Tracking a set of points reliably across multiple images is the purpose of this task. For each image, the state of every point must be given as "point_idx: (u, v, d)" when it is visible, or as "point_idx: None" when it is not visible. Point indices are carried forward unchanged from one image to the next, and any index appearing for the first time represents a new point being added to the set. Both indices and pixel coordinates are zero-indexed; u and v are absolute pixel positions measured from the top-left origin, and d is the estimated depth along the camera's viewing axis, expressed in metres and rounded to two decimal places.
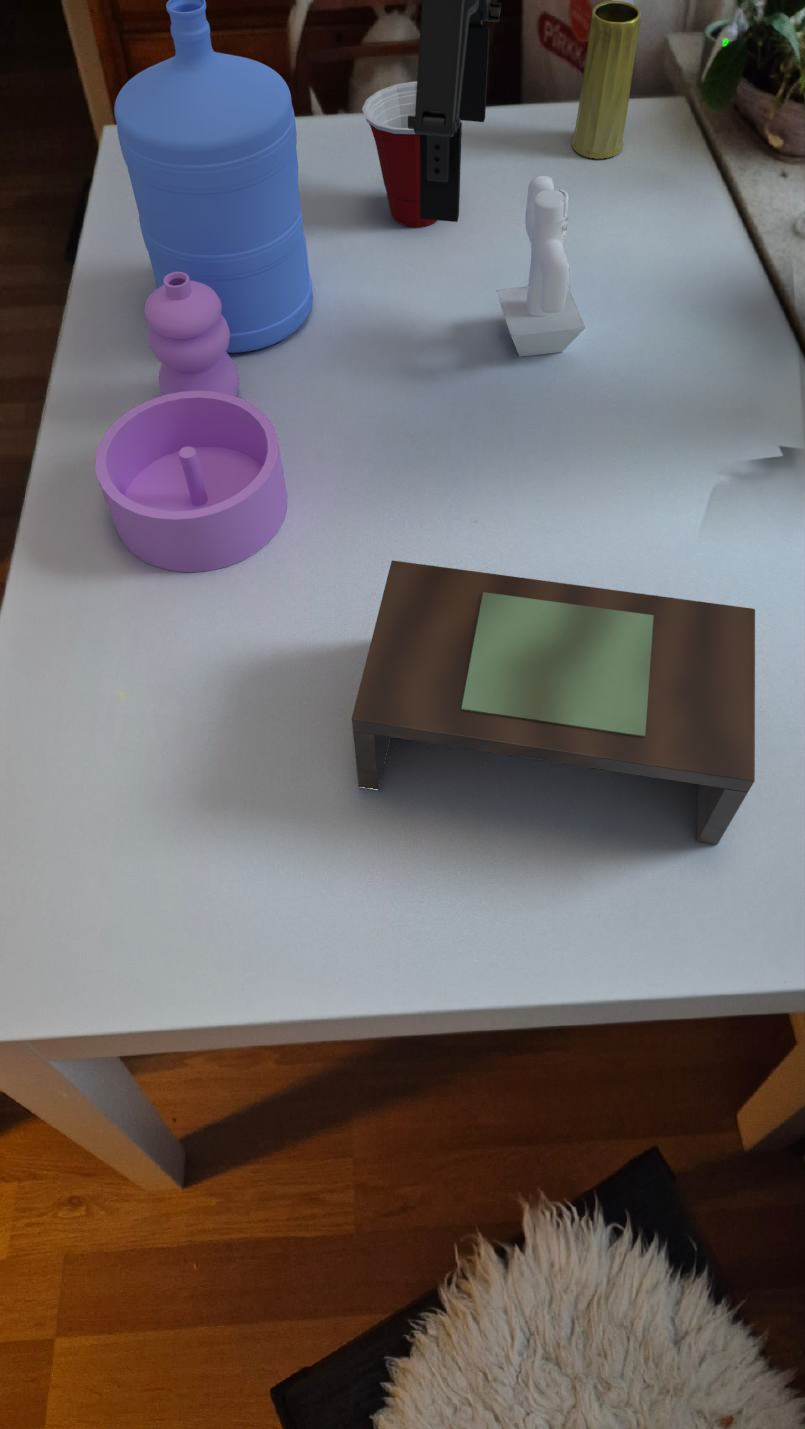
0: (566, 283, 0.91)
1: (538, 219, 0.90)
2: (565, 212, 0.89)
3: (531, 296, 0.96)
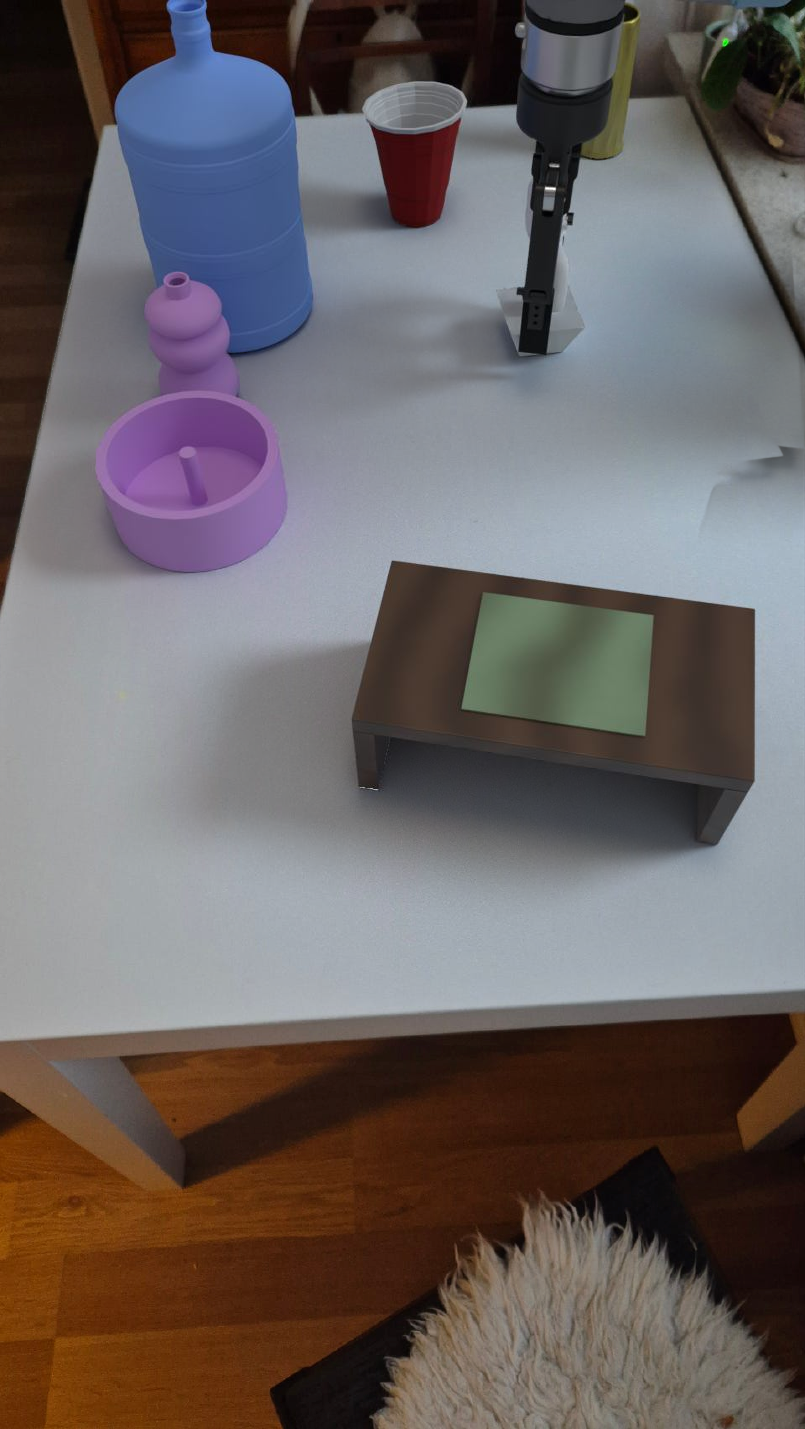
0: (566, 282, 0.91)
1: None
2: None
3: None
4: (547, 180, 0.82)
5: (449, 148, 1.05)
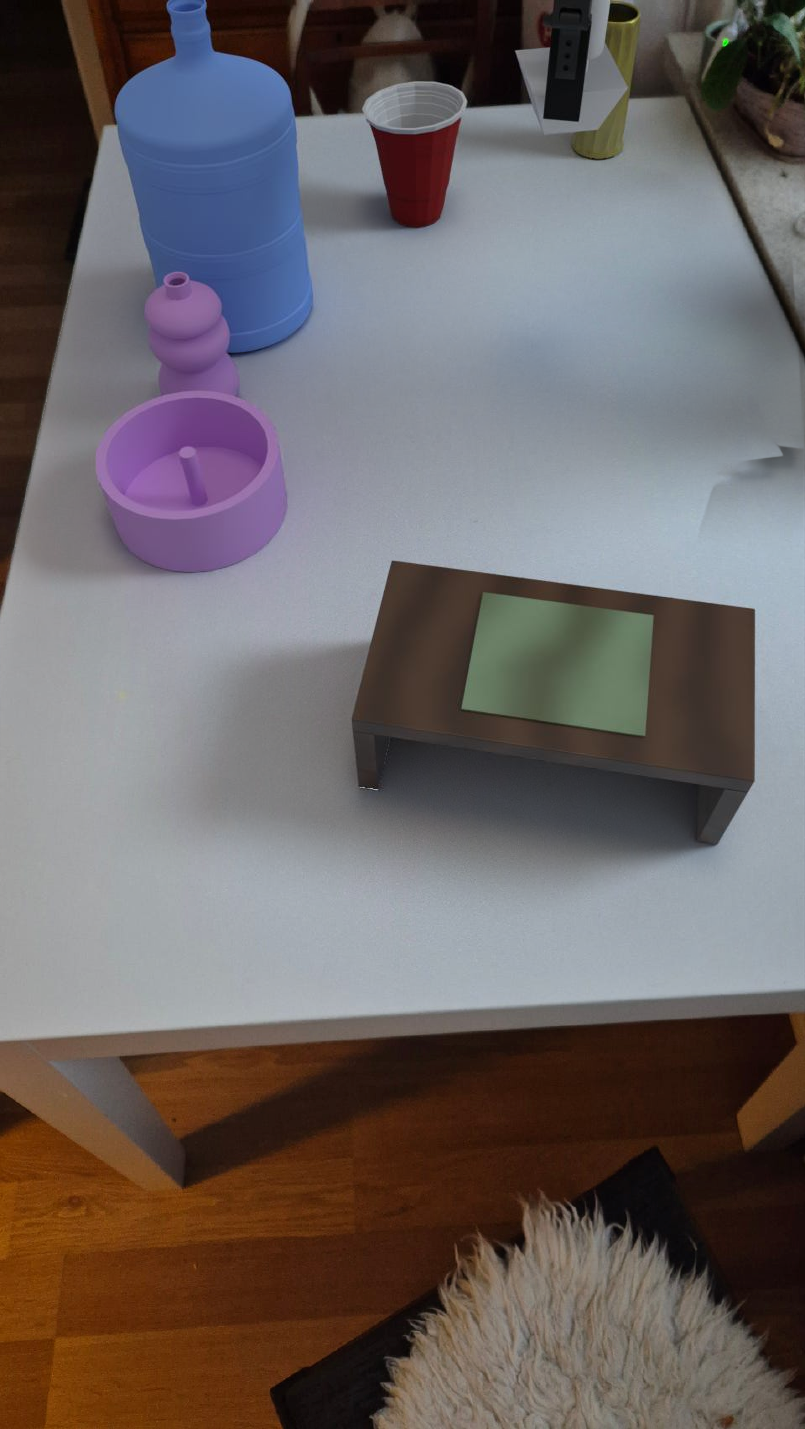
0: (606, 11, 0.71)
1: None
2: None
3: None
4: None
5: (449, 148, 1.05)
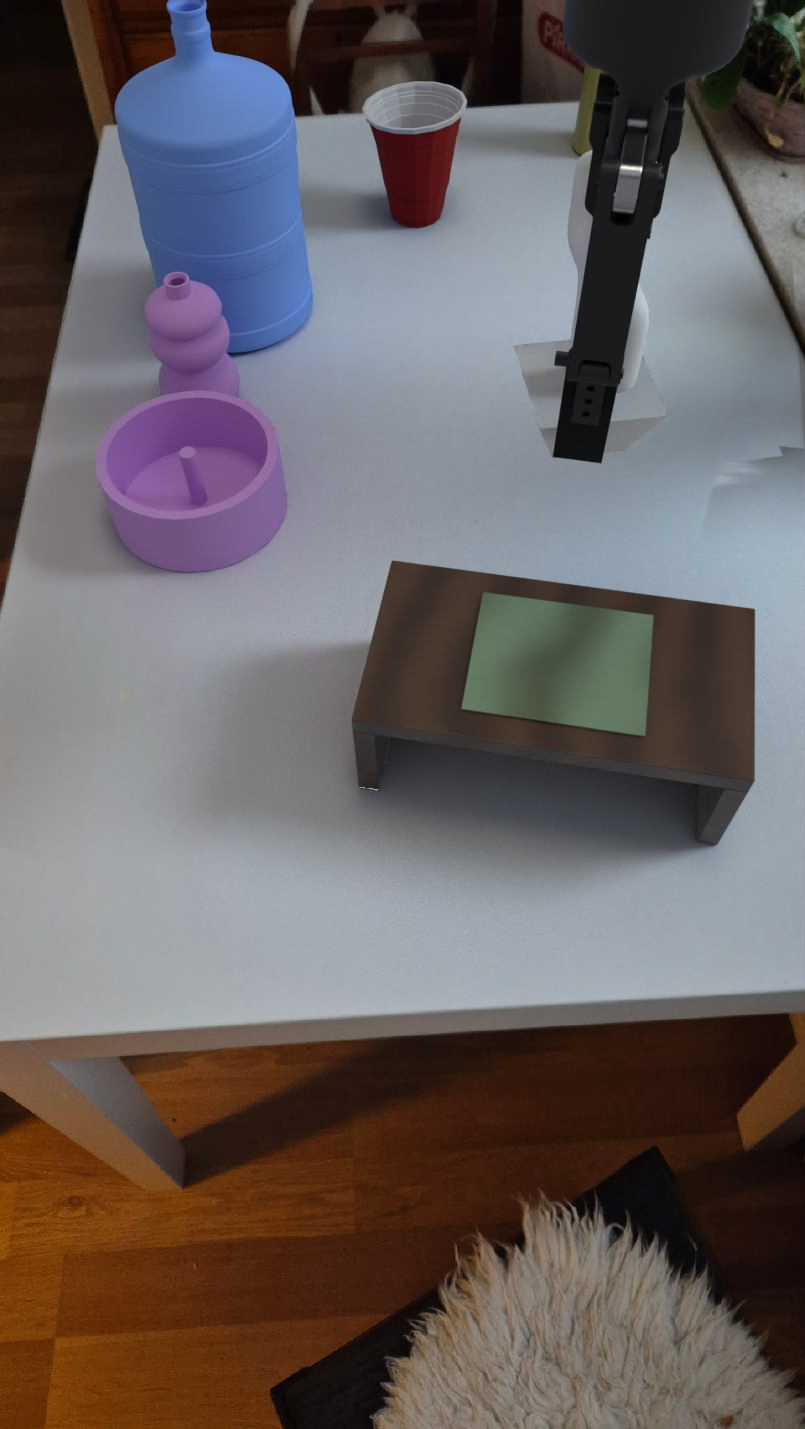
0: (642, 342, 0.50)
1: None
2: None
3: None
4: (624, 152, 0.41)
5: (449, 147, 1.05)
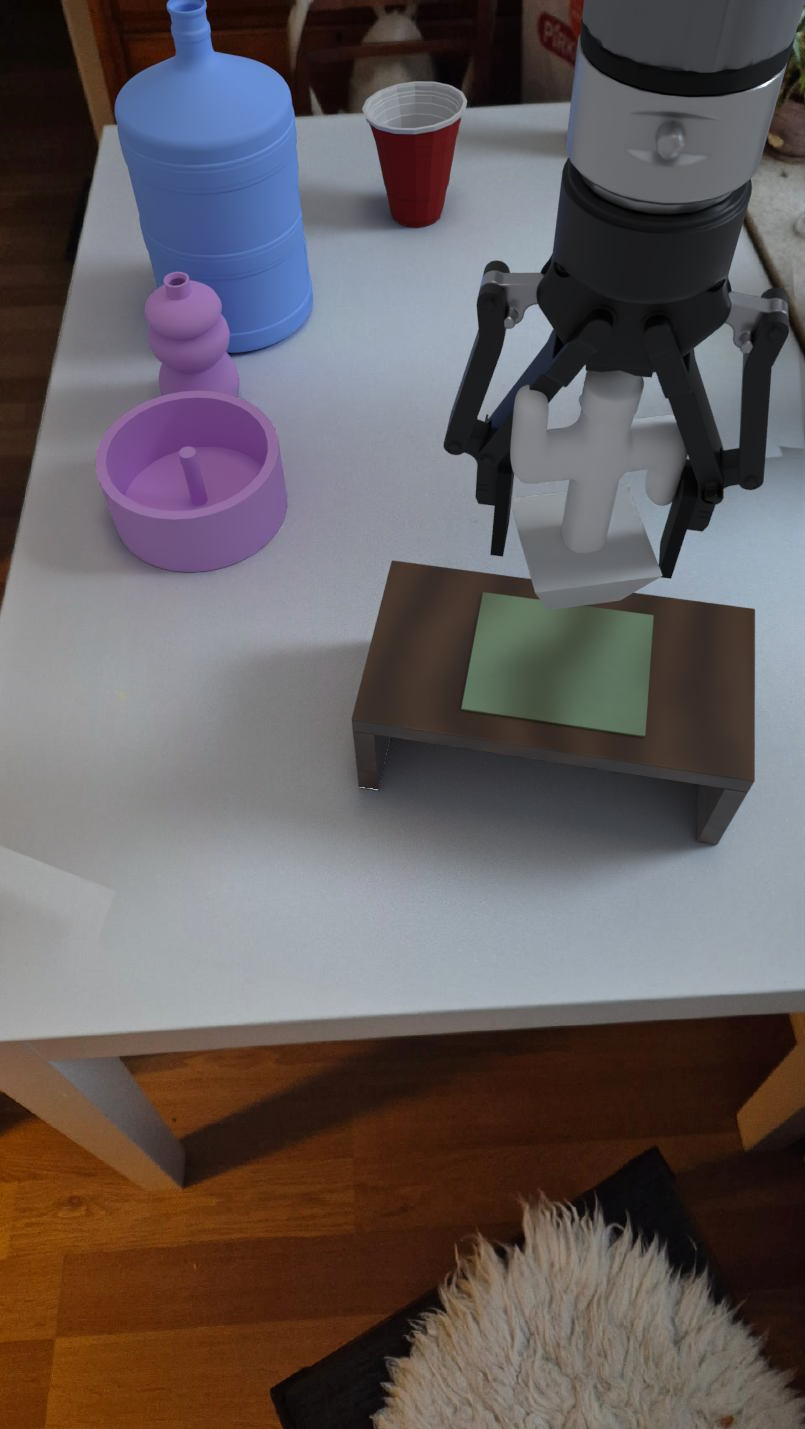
0: None
1: (629, 416, 0.49)
2: None
3: (606, 524, 0.55)
4: (759, 308, 0.44)
5: (449, 147, 1.05)
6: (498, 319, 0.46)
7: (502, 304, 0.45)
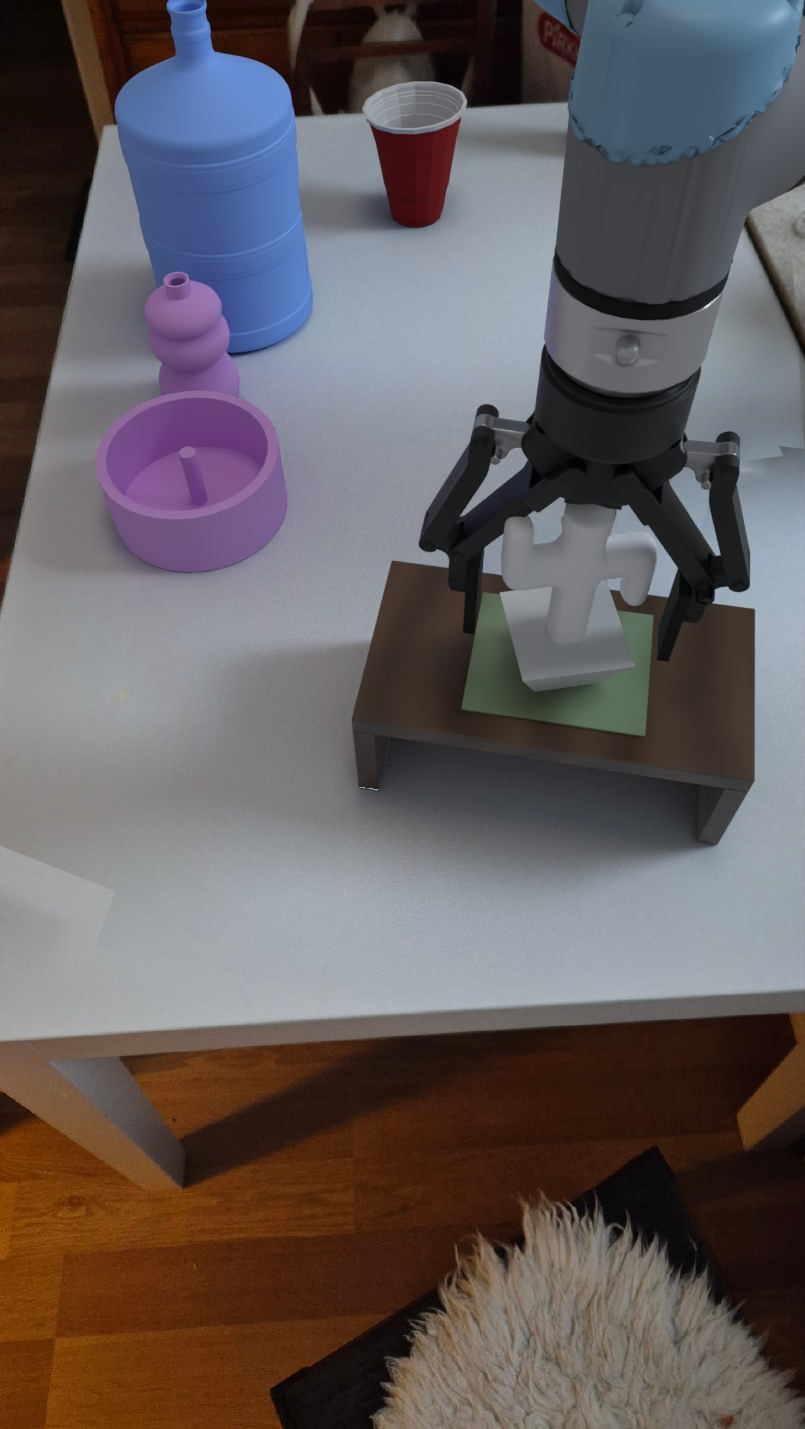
0: None
1: (604, 539, 0.56)
2: None
3: (586, 621, 0.63)
4: (712, 453, 0.51)
5: (449, 148, 1.05)
6: (486, 456, 0.53)
7: (492, 445, 0.52)
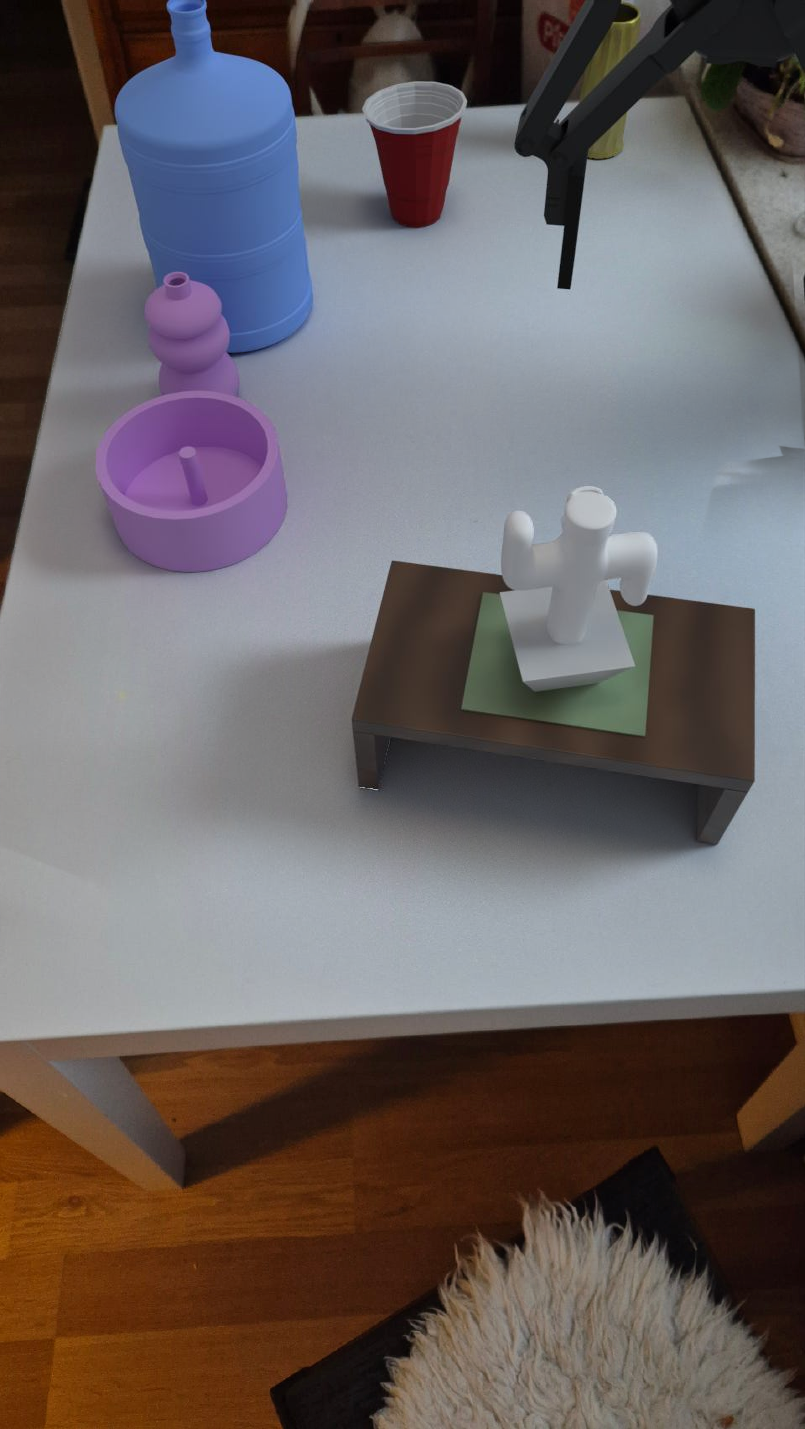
0: None
1: (604, 539, 0.56)
2: None
3: (586, 621, 0.63)
4: None
5: (449, 148, 1.05)
6: None
7: None
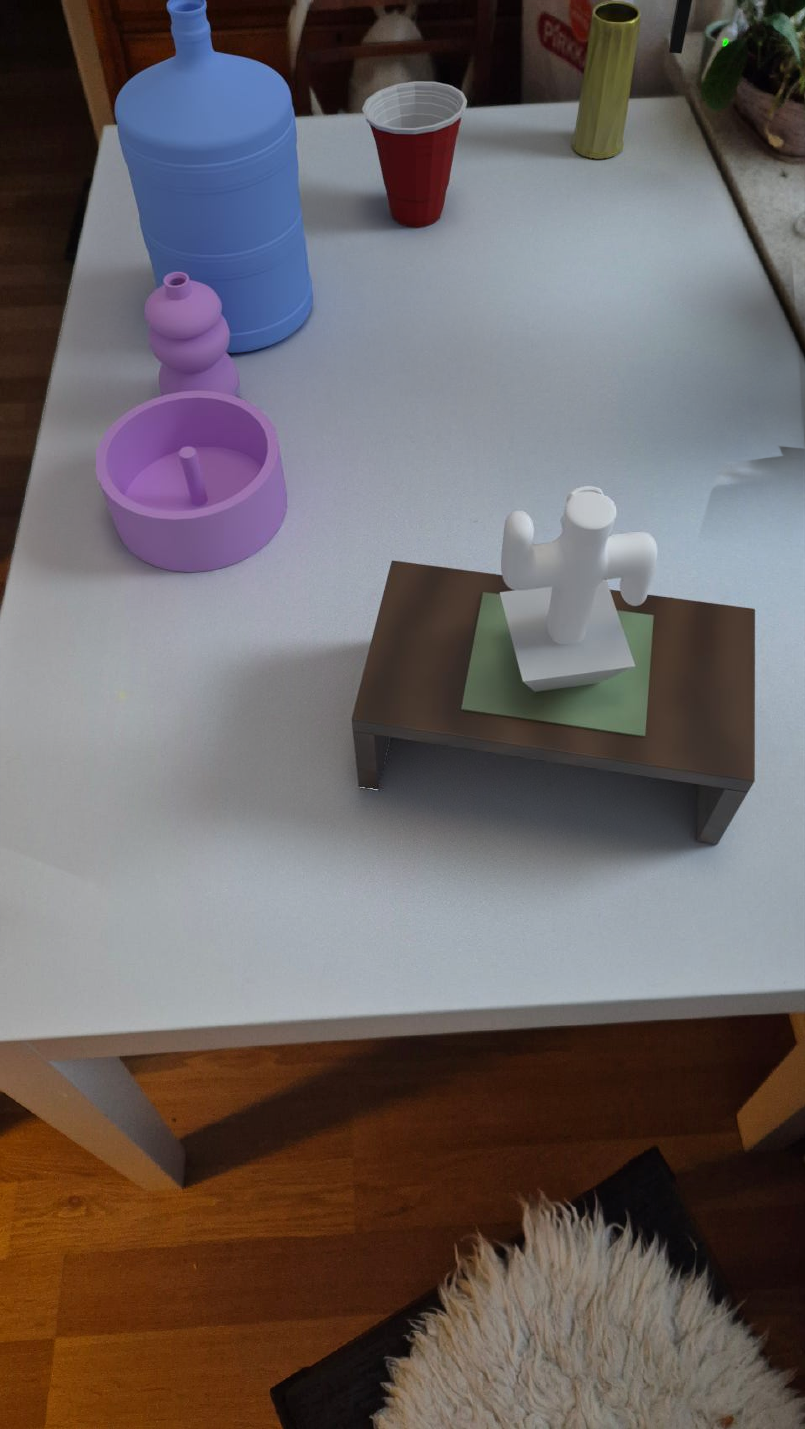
0: None
1: (604, 539, 0.56)
2: None
3: (586, 621, 0.63)
4: None
5: (449, 148, 1.05)
6: None
7: None
